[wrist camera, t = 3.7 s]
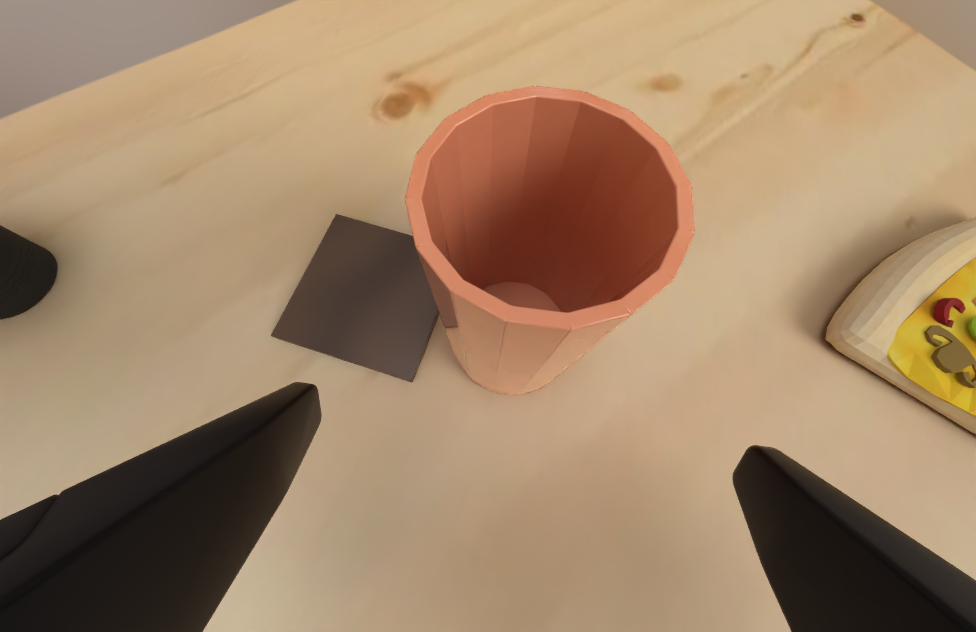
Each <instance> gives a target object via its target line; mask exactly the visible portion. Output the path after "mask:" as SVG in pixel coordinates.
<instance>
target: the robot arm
mask: <svg viewBox="0 0 976 632" xmlns="http://www.w3.org/2000/svg"><path fill="white" fill-rule="evenodd" d="M320 421H321V408H320V401H319V394H318V389H317V387H316V386H315V385H313V384H308V383H301V382H295V383H292V384H290V385H288V386H286V387H284V388H281V389H279V390H277V391H275V392H273V393H271V394H269V395H267V396H264V397H262V398H260V399H258V400H256V401H254V402H252V403H249V404H247V405H245V406H243V407H241V408H239V409H237V410H234V411H232V412H230V413H228V414H226V415H224V416H222V417H220V418H217V419H215V420H213V421H211V422H209V423H207V424H205V425H202V426H200V427H198V428H196V429H194V430H192V431H190V432H187V433H185V434H183V435H181V436H179V437H177V438H175V439H172V440H170V441H168V442H166V443H164V444H162V445H160V446H158V447H155V448H153V449H151V450H149V451H147V452H145V453H143V454H140V455H138V456H136V457H134V458H132V459H130V460H128V461H125V462H123V463H121V464H119V465H117V466H115V467H113V468H110V469H108V470H106V471H104V472H102V473H100V474H98V475H95V476H93V477H91V478H89V479H87V480H85V481H83V482H80V483H78V484H76V485H74V486H72V487H70V488H68V489H66V490H64V491H62V492H61V493H60V494H59V495H52V496H50V497H48V498H46V499H44V500H42V501H40V502H38V503H35V504H33V505H31V506H29V507H27V508H25V509H23V510H20V511H18V512H16V513H14V514H12V515H10V516H7V517H5V518H3V519H1V520H0V632H203V630H204V628H205V627H206V625H207V624H208V622H209V620H210V619H211V617H212V615H213V614H214V612H215V610H216V609H217V607H218V605H219V604H220V602H221V601H222V599H223V597H224V596H225V594H226V592H227V591H228V589H229V587H230V586H231V584H232V582H233V581H234V579H235V577H236V576H237V574H238V573H239V571H240V569H241V568H242V566H243V564H244V563H245V561H246V559H247V558H248V556H249V554H250V553H251V551H252V550H253V548H254V546H255V545H256V543H257V541H258V540H259V538H260V536H261V535H262V533H263V531H264V530H265V528H266V527H267V525H268V523H269V522H270V520H271V518H272V517H273V515H274V513H275V512H276V510H277V508H278V507H279V505H280V503H281V502H282V500H283V498H284V496H285V495H286V493H287V491H288V489H289V487H290V485H291V483H292V481H293V479H294V477H295V475H296V473H297V471H298V469H299V466H300V464H301V462H302V460H303V458H304V456H305V454H306V452H307V450H308V448H309V446H310V444H311V441H312V439H313V437H314V435H315V433H316V431H317V429H318V427H319V424H320ZM733 485H734V488H735V491H736V494H737V496H738V499H739V502H740V505H741V508H742V511H743V514H744V516H745V519H746V522H747V525H748V528H749V531H750V534H751V536H752V539H753V542H754V545H755V548H756V551H757V553H758V556H759V559H760V561H761V564H762V566H763V569H764V571H765V574H766V576H767V578H768V581H769V583H770V585H771V587H772V589H773V592H774V594H775V596H776V598H777V600H778V603H779V605H780V607H781V609H782V612H783V614H784V616H785V618H786V620H787V623H788V625H789V627H790V629H791V632H976V580H974V579H973V578H971V577H970V576H968V575H967V574H965V573H964V572H962V571H961V570H959V569H958V568H956V567H955V566H953V565H952V564H950V563H949V562H947V561H946V560H944V559H943V558H941V557H939V556H938V555H936V554H935V553H933V552H932V551H930V550H929V549H927V548H926V547H924V546H923V545H921V544H920V543H918V542H917V541H915V540H914V539H912V538H911V537H909V536H908V535H906V534H905V533H903V532H902V531H900V530H899V529H897V528H896V527H894V526H893V525H891V524H890V523H888V522H887V521H885V520H883V519H882V518H880V517H879V516H877V515H876V514H874V513H873V512H871V511H870V510H868V509H867V508H865V507H864V506H862V505H861V504H859V503H858V502H856V501H855V500H853V499H852V498H850V497H849V496H847V495H846V494H844V493H843V492H841V491H840V490H838V489H837V488H835V487H834V486H832V485H830V484H829V483H827V482H826V481H824V480H823V479H821V478H820V477H818V476H817V475H815V474H814V473H812V472H811V471H809V470H808V469H806V468H805V467H803V466H802V465H800V464H799V463H797V462H796V461H794V460H793V459H791V458H790V457H788V456H787V455H785V454H784V453H782V452H781V451H779V450H777V449H775V448H772V447H765V446H758V445H753V446H751V447H749V448H748V449H747V450H746V452H745V453H744V455H743V457H742V458H741V460H740V462H739V464H738V465H737V467H736V469H735V470H734V472H733Z"/></svg>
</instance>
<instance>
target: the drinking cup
mask: <svg viewBox="0 0 976 632" xmlns="http://www.w3.org/2000/svg"><path fill="white" fill-rule="evenodd" d="M56 272H57V265H56V261H55V258H54V257H53V255H52V254H51V253H50V252H49V251H48V250H46V249H45V248H43V247H41V246H39V245H37V244H35V243H33V242H31V241H29V240H27V239H25V238H23V237H21V236H20V235H18V234H16V233H14V232H12V231H10V230H8V229H6V228H4V227H2V226H0V319H4V318H9V317H12V316H15V315H18V314H20V313H22V312H24V311H26V310H28V309H29V308H31V307H32V306H34V305H35V304H36V303H37V302H39V301H40V300H41V299H42V298H43V297H44V296H45V294H46V293H47V292H48V291H49V289H50V288H51V286H52V284H53V282H54V280H55V277H56Z"/></svg>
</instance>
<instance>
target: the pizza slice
mask: <svg viewBox="0 0 976 632" xmlns="http://www.w3.org/2000/svg"><path fill="white" fill-rule="evenodd" d="M826 340H827V341H828V342H830V343H831V344H832V345H833V346H834V347H835V349H836V350H838V351H839V352H841V353H842V354H844V355H845V356H847V357H849V358H850V359H852V360H854V361H856V362H857V363H859V364H861V365H862V366H864V367H866V368H867V369H869V370H870V371H872V372H874V373H875V374H877V375H879V376H880V377H882V378H883V379H885V380H887V381H888V382H890V383H892V384H893V385H895V386H897V387H898V388H900V389H902V390H903V391H905V392H907V393H908V394H910V395H911V396H913V397H915V398H916V399H918V400H920V401H921V402H923V403H925V404H926V405H928V406H930V407H931V408H933V409H934V410H936V411H938V412H939V413H941V414H943V415H944V416H946V417H948V418H949V419H951V420H952V421H954V422H956V423H957V424H959V425H961V426H962V427H964V428H966V429H967V430H969V431H970V432H972V433H974V434H975V435H976V217H975V218H972V219H969V220H966V221H963V222H960V223H957V224H954V225H951V226H948V227H945V228H942V229H940V230H937V231H934V232H932V233H929V234H927V235H925V236H923V237H921V238H919V239H917V240H915V241H914V242H912V243H910V244H908V245H906V246H904V247H903V248H901V249H900V250H898V251H897V252H895V253H894V254H892V255H891V256H889V257H888V258H886V259H885V260H884V261H882V262H881V263H880V264H879V265H878V266H877V267H876V268H875V269H874V270H872V271H871V272H870V273H869V274H868V275H867V276H866V277H865V278H864V279H863V280H862V281H861V282H860V283H859V284H858V285H857V287H856V288H855V289H854V290H853V291H852V292H851V293H850V295H849V296H848V297H847V298H846V299H845V301H844V302H843V303H842V305H841V306H840V307H839V308H838V310H837V311H836V312H835V314H834V316H833V318H832V319H831V321H830V323H829V325H828V327H827V332H826Z"/></svg>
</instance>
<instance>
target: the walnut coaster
mask: <svg viewBox="0 0 976 632" xmlns="http://www.w3.org/2000/svg"><path fill="white" fill-rule="evenodd" d="M438 314H439V311H438V308H437V305H436V302H435V300H434V297H433V294H432V291H431V288H430V286H429V283H428V280H427V277H426V275H425V272H424V269H423V266H422V264H421V261H420V258H419V255H418V253H417V250H416V247H415V243H414V238H413V236H411V235H407V234H404V233H400V232H397V231H393V230H390V229H386V228H383V227H379V226H376V225H372V224H369V223H366V222H362V221H359V220H355V219H352V218H348V217H345V216H341V215H338V214H336V215H335V217H334V219H333V221H332V223H331V225H330V227H329V228H328V230H327V232H326V234H325V236H324V238H323V240H322V241H321V243H320V245H319V247H318V249H317V251H316V253H315V254H314V256H313V258H312V260H311V262H310V264H309V266H308V268H307V269H306V271H305V273H304V275H303V277H302V279H301V281H300V282H299V284H298V286H297V288H296V290H295V292H294V294H293V295H292V297H291V299H290V301H289V303H288V305H287V307H286V308H285V310H284V312H283V314H282V316H281V318H280V320H279V321H278V323H277V325H276V327H275V329H274V331H273V333H272V335H271V336H272V337H275V338H278V339H281V340H284V341H287V342H290V343H293V344H296V345H299V346H302V347H305V348H308V349H311V350H314V351H317V352H320V353H324V354H327V355H330V356H333V357H336V358H339V359H342V360H345V361H348V362H351V363H354V364H357V365H360V366H363V367H366V368H369V369H373V370H376V371H379V372H382V373H385V374H388V375H391V376H394V377H397V378H400V379H403V380H406V381H409V382H413V379H414V377H415V374H416V371H417V369H418V366H419V364H420V361H421V358H422V356H423V353H424V351H425V348H426V345H427V343H428V340H429V338H430V335H431V332H432V330H433V327H434V324H435V322H436V319H437V317H438Z"/></svg>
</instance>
